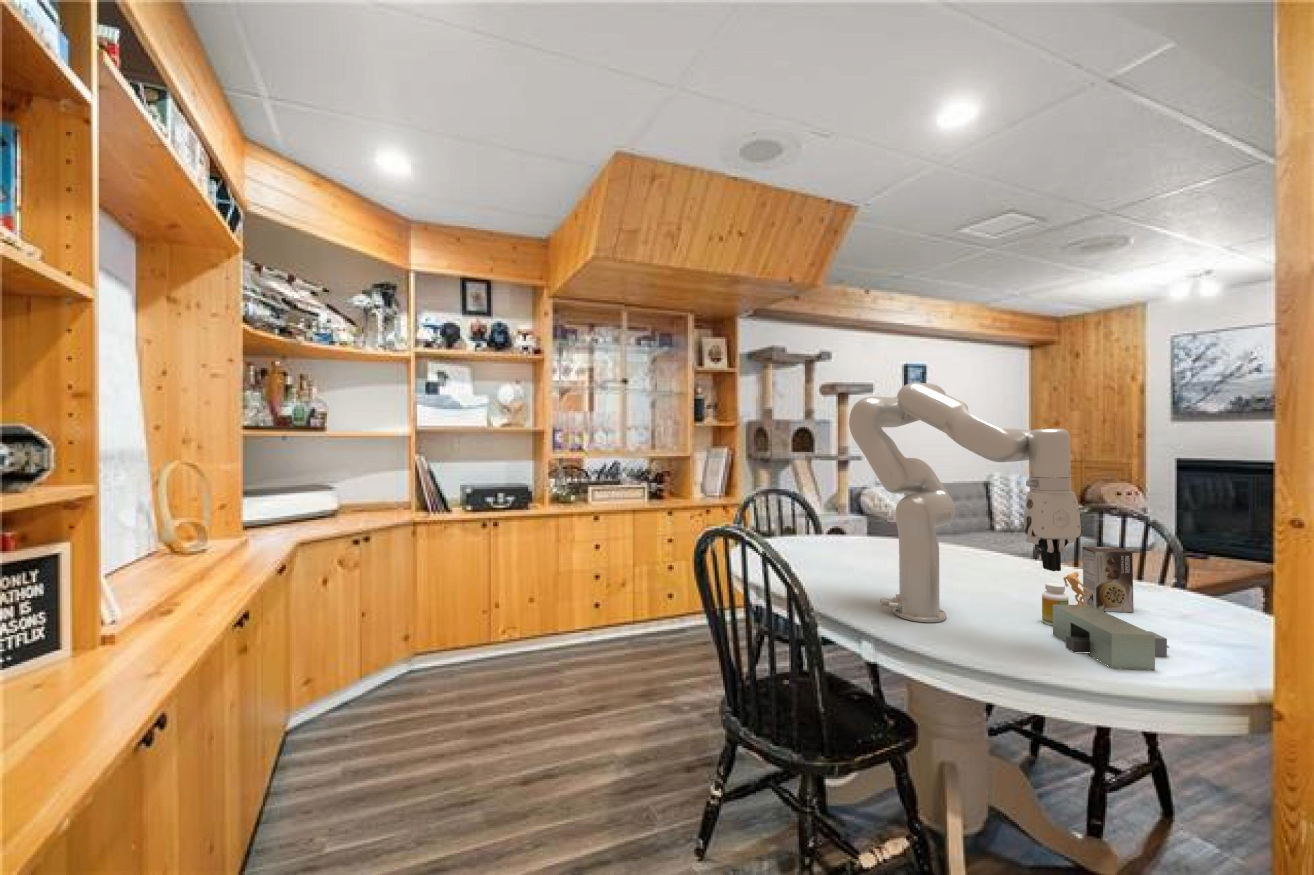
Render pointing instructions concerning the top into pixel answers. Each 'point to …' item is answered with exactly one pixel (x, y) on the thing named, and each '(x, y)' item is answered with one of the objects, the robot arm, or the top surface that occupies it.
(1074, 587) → the figurine
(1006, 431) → the robot arm
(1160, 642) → the long grey beam
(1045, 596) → the supplement bottle
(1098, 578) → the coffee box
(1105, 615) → the notched grey-green block
